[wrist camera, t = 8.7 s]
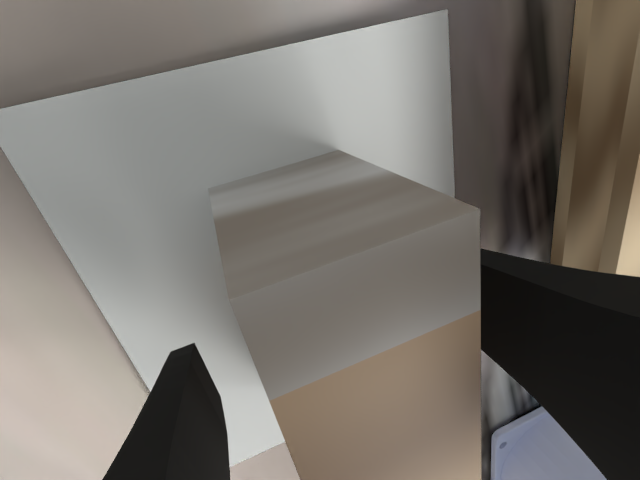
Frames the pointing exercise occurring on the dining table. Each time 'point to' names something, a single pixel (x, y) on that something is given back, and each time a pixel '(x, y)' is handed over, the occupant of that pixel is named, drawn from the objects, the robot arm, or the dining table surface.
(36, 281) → the dining table surface
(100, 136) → the grey mat
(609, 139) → the carton
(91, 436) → the dining table surface
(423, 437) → the block
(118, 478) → the robot arm
